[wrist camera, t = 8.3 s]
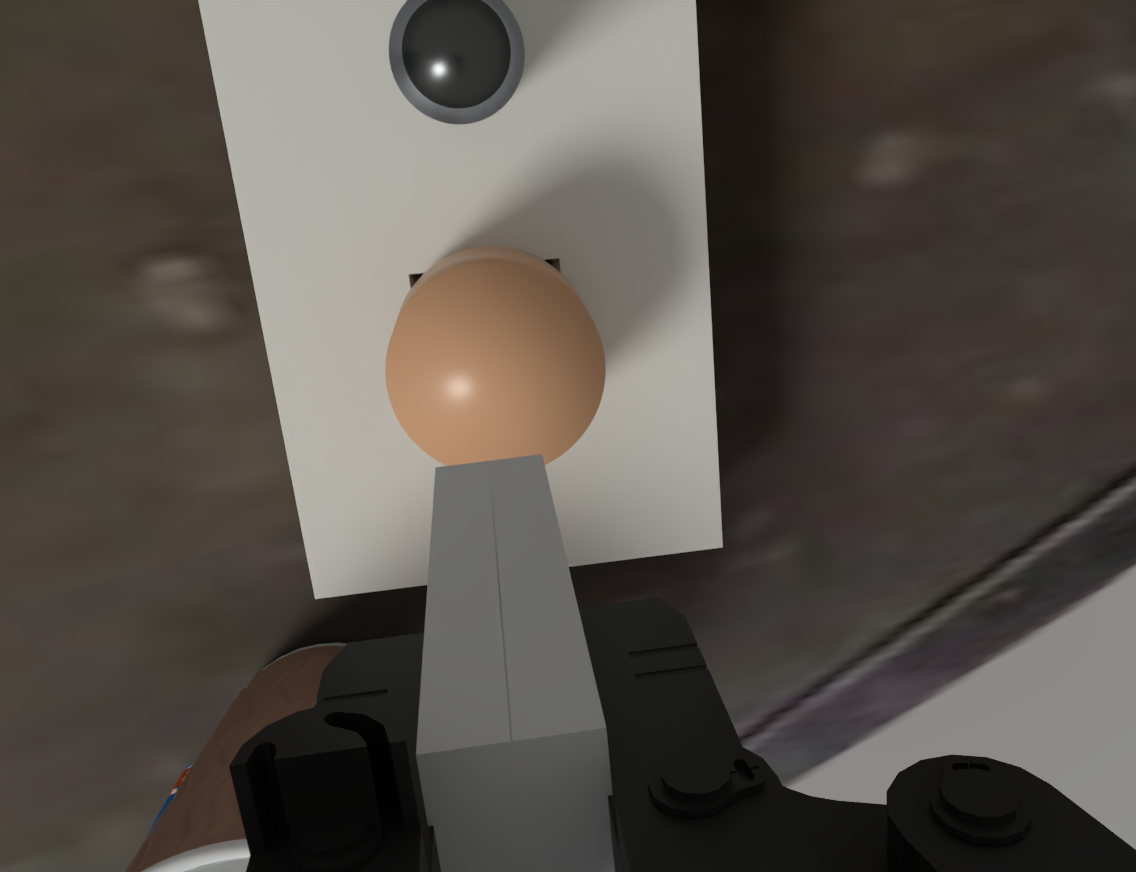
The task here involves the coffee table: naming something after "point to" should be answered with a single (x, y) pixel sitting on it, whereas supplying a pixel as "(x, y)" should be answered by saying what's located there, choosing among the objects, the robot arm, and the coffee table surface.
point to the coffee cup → (228, 772)
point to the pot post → (456, 57)
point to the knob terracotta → (494, 359)
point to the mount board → (463, 221)
